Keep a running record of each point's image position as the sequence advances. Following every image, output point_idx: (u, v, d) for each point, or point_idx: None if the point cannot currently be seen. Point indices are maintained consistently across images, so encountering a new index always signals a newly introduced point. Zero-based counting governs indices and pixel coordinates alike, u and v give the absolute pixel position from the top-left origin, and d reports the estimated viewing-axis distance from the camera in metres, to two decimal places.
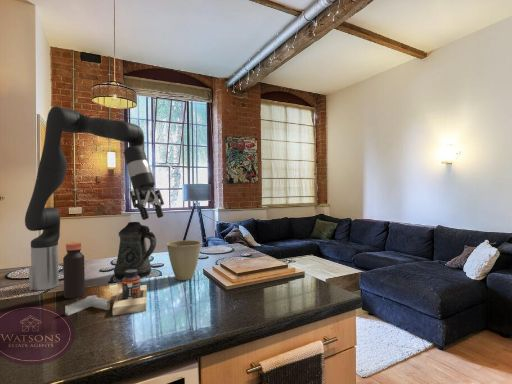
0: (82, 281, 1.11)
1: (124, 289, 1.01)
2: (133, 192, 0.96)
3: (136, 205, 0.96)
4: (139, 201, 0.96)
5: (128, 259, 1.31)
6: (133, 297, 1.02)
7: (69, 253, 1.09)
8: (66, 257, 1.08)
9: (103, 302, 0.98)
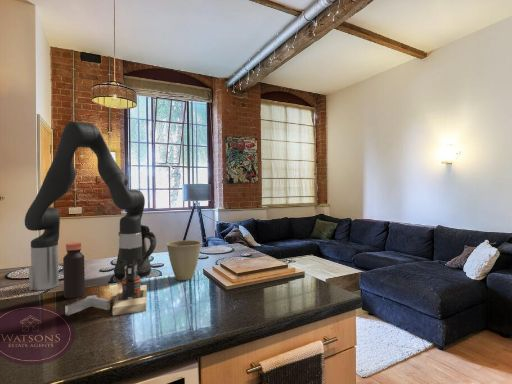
0: (82, 281, 1.11)
1: (124, 289, 1.01)
2: (130, 271, 0.98)
3: (130, 283, 0.98)
4: (133, 280, 0.99)
5: None
6: (133, 297, 1.02)
7: (69, 253, 1.09)
8: (66, 257, 1.08)
9: (103, 302, 0.98)
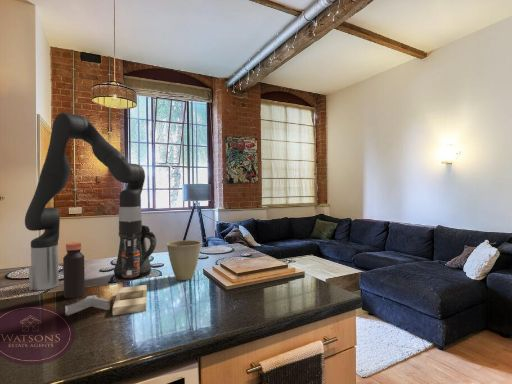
0: (82, 281, 1.11)
1: (123, 262, 1.01)
2: (129, 243, 0.98)
3: (129, 256, 0.98)
4: (133, 252, 0.99)
5: None
6: (132, 270, 1.02)
7: (69, 253, 1.09)
8: (66, 257, 1.08)
9: (103, 302, 0.98)
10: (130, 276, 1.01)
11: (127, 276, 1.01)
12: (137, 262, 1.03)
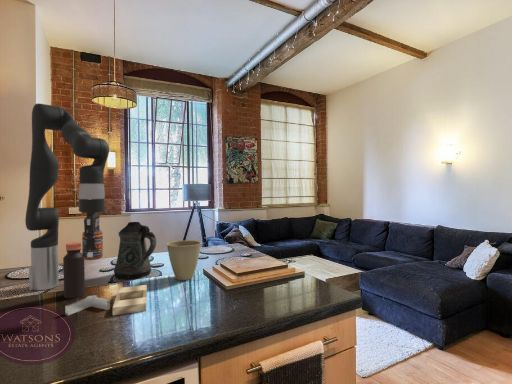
0: (82, 281, 1.11)
1: (84, 243, 0.94)
2: (89, 222, 0.90)
3: (89, 236, 0.91)
4: (93, 232, 0.91)
5: (128, 259, 1.31)
6: (94, 252, 0.94)
7: (69, 253, 1.09)
8: (66, 257, 1.08)
9: (103, 302, 0.98)
10: (91, 258, 0.94)
11: (88, 258, 0.94)
12: (99, 243, 0.96)
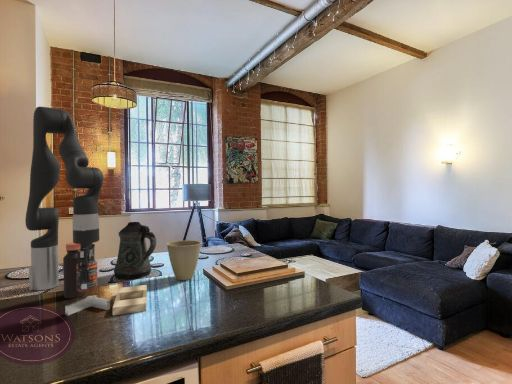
0: None
1: (78, 275, 0.93)
2: (82, 254, 0.89)
3: (82, 268, 0.90)
4: (87, 264, 0.90)
5: (129, 259, 1.31)
6: (88, 284, 0.93)
7: (69, 253, 1.09)
8: (66, 257, 1.08)
9: (103, 302, 0.98)
10: (85, 290, 0.93)
11: (82, 290, 0.92)
12: (94, 274, 0.94)
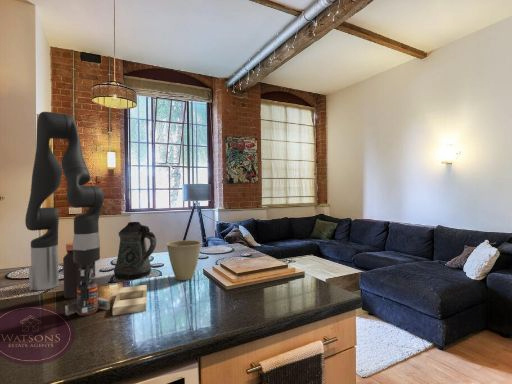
0: None
1: (78, 299, 0.93)
2: (83, 273, 0.89)
3: (82, 287, 0.89)
4: (87, 283, 0.90)
5: (129, 259, 1.31)
6: (88, 307, 0.93)
7: (69, 253, 1.09)
8: (66, 257, 1.08)
9: (103, 302, 0.98)
10: (86, 314, 0.93)
11: (82, 314, 0.93)
12: (94, 298, 0.95)
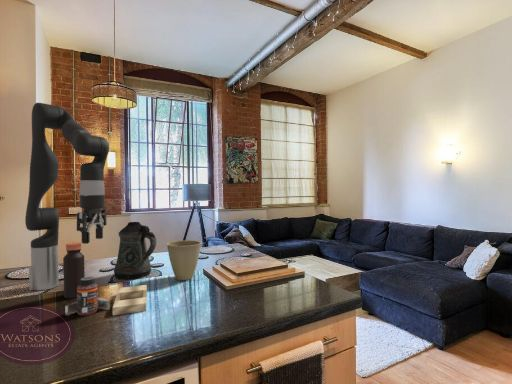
0: None
1: (78, 299, 0.93)
2: (81, 215, 0.93)
3: (80, 229, 0.93)
4: (85, 226, 0.93)
5: (129, 259, 1.31)
6: (88, 307, 0.93)
7: (69, 253, 1.09)
8: (66, 257, 1.08)
9: (103, 302, 0.98)
10: (86, 314, 0.93)
11: (82, 314, 0.93)
12: (94, 298, 0.95)
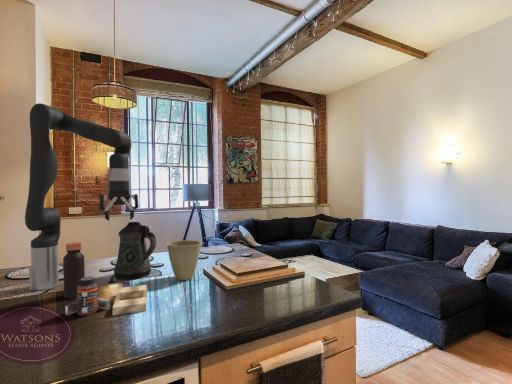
0: None
1: (78, 299, 0.93)
2: None
3: (100, 208, 1.16)
4: (101, 206, 1.15)
5: (129, 259, 1.31)
6: (88, 307, 0.93)
7: (69, 253, 1.09)
8: (66, 257, 1.08)
9: (103, 302, 0.98)
10: (86, 314, 0.93)
11: (82, 314, 0.93)
12: (94, 298, 0.95)
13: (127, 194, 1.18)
